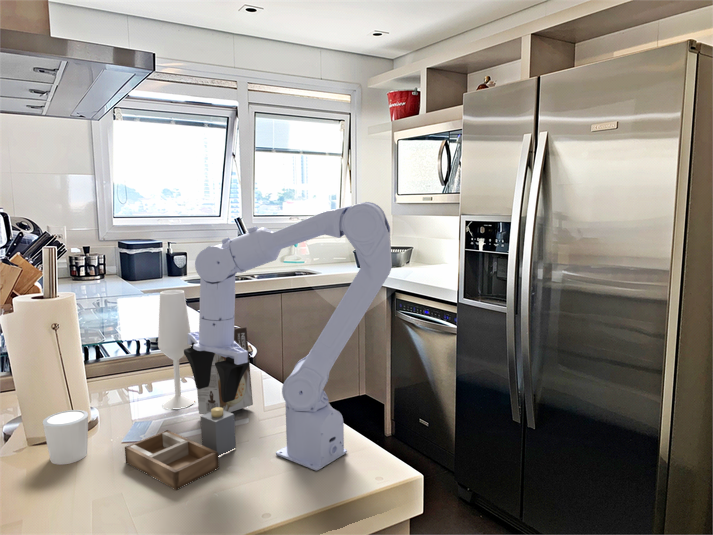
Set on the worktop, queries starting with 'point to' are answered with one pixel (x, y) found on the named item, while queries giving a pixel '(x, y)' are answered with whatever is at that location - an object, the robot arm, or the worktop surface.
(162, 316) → the champagne flute
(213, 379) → the coffee box
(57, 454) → the white cup
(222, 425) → the plug
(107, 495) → the worktop surface
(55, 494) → the worktop surface
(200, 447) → the walnut box
